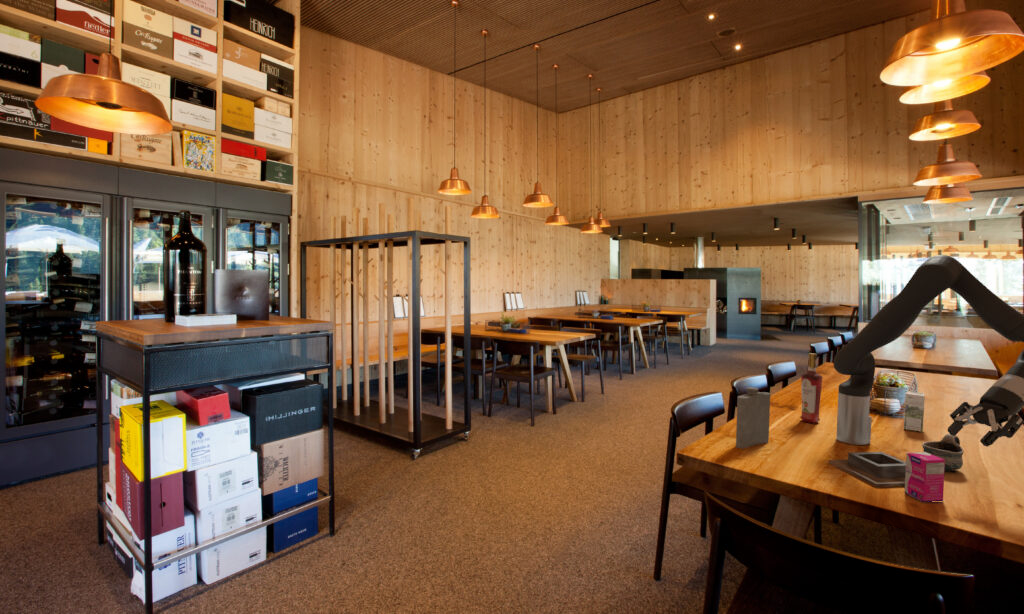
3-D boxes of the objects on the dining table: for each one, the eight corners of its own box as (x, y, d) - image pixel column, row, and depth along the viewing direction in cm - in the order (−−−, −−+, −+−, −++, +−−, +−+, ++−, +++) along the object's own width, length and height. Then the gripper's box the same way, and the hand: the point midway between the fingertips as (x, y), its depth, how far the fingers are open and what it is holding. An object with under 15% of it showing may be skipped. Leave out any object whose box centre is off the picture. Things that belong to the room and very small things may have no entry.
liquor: (795, 420, 199) (798, 353, 198) (807, 418, 202) (809, 352, 201) (812, 425, 192) (815, 355, 191) (824, 423, 196) (827, 354, 194)
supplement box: (903, 493, 131) (905, 451, 130) (923, 492, 131) (925, 451, 131) (923, 503, 125) (925, 460, 124) (944, 502, 125) (946, 459, 125)
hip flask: (742, 449, 164) (744, 391, 163) (731, 445, 168) (733, 389, 167) (770, 442, 172) (772, 386, 171) (759, 438, 176) (761, 384, 174)
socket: (881, 461, 154) (882, 447, 154) (935, 485, 136) (936, 469, 136) (828, 463, 152) (829, 449, 152) (876, 487, 134) (877, 471, 134)
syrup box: (922, 429, 188) (924, 392, 187) (922, 433, 183) (924, 395, 183) (903, 426, 192) (905, 390, 191) (903, 430, 187) (905, 393, 186)
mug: (916, 466, 150) (917, 435, 149) (929, 458, 157) (931, 428, 156) (957, 477, 142) (959, 443, 141) (969, 468, 149) (971, 436, 148)
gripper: (971, 380, 135) (932, 421, 135) (1030, 391, 121) (986, 437, 121) (987, 398, 136) (948, 439, 136) (1048, 412, 122) (1004, 458, 121)
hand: (966, 438), depth 128 cm, fingers open, 8 cm apart
